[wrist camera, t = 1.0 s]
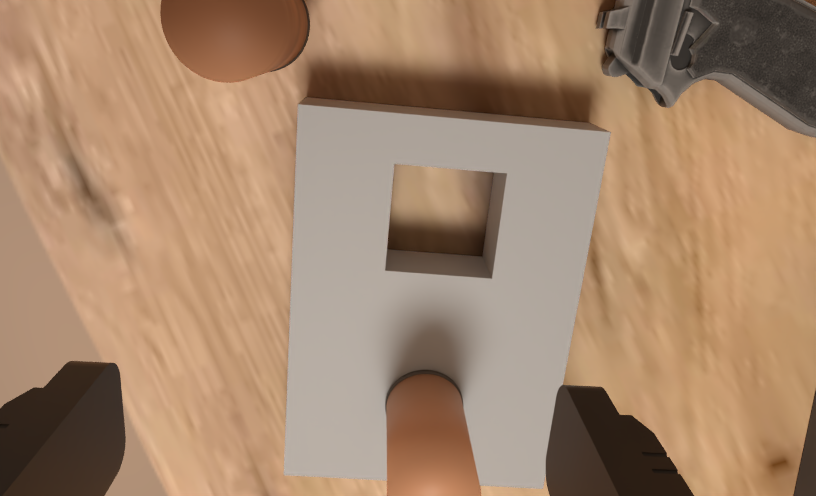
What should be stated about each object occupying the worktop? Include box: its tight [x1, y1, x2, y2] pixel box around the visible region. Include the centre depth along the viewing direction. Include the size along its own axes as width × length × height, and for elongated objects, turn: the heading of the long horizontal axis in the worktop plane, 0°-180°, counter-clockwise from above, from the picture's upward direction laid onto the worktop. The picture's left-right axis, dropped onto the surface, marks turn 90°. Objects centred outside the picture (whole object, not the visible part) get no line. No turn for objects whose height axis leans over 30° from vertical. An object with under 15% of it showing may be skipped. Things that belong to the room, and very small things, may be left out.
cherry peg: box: [161, 0, 310, 83], centre depth 23 cm, size 4×4×10 cm
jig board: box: [284, 97, 611, 496], centre depth 28 cm, size 18×13×10 cm
